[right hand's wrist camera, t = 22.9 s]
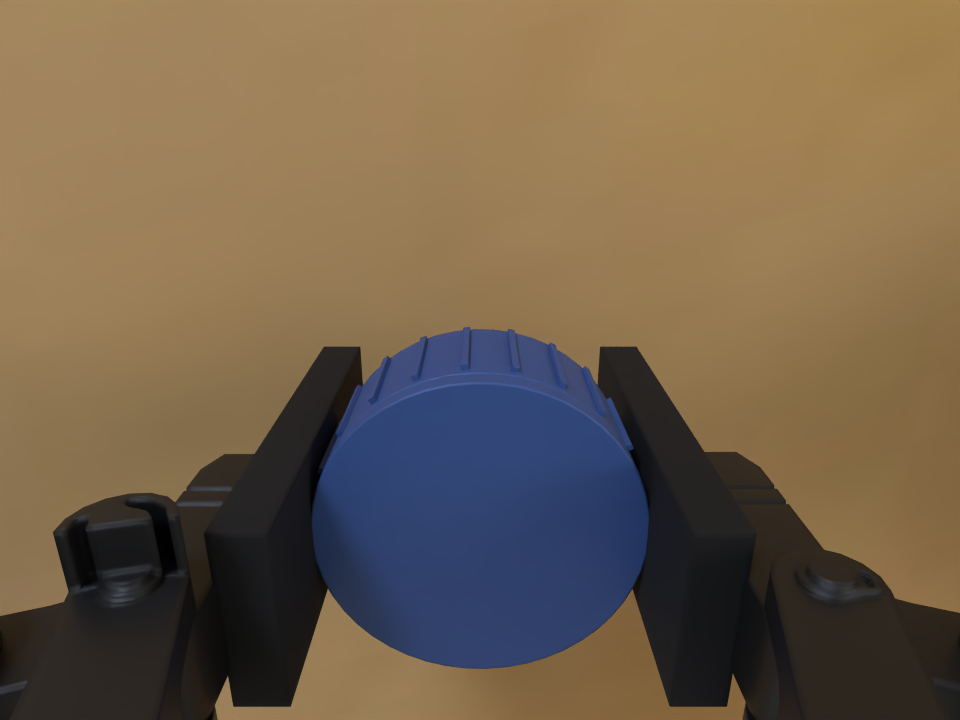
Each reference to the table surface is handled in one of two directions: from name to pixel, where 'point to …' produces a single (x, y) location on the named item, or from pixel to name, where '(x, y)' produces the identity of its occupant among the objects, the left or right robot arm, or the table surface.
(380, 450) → the lid
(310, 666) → the table surface
